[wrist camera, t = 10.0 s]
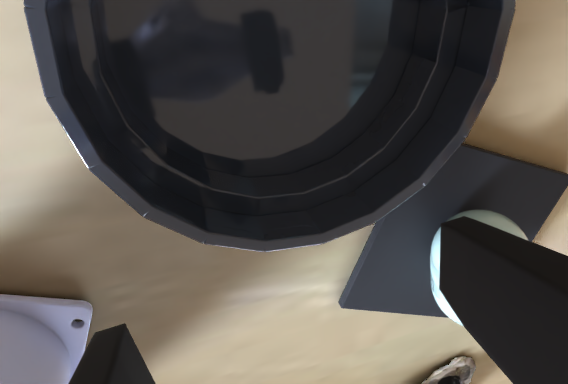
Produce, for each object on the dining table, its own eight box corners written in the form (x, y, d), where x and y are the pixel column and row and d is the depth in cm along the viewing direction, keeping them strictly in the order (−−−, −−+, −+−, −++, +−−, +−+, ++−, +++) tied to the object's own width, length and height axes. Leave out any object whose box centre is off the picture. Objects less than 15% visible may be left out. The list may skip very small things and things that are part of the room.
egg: (494, 277, 24) (542, 339, 21) (417, 293, 24) (452, 358, 21) (503, 184, 21) (562, 236, 18) (415, 202, 21) (455, 258, 18)
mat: (476, 315, 27) (481, 321, 27) (337, 302, 23) (341, 308, 23) (566, 173, 23) (573, 177, 23) (419, 130, 20) (425, 134, 19)
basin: (357, 220, 21) (397, 270, 18) (33, 161, 16) (2, 217, 12) (505, -103, 16) (601, -119, 13) (96, -349, 11) (71, -492, 7)
